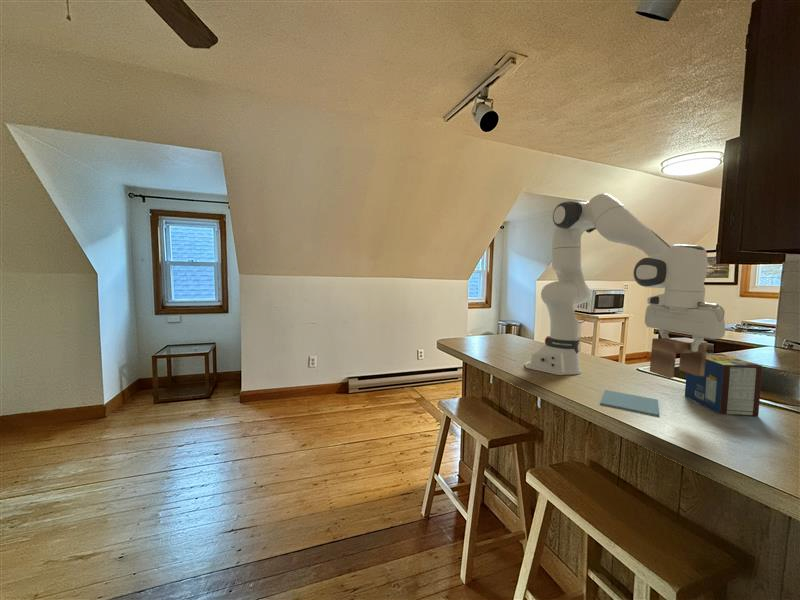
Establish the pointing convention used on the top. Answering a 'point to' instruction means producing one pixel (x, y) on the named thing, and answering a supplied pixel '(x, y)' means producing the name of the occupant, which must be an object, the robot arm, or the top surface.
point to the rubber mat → (630, 402)
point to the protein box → (727, 385)
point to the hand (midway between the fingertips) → (679, 347)
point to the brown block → (666, 356)
